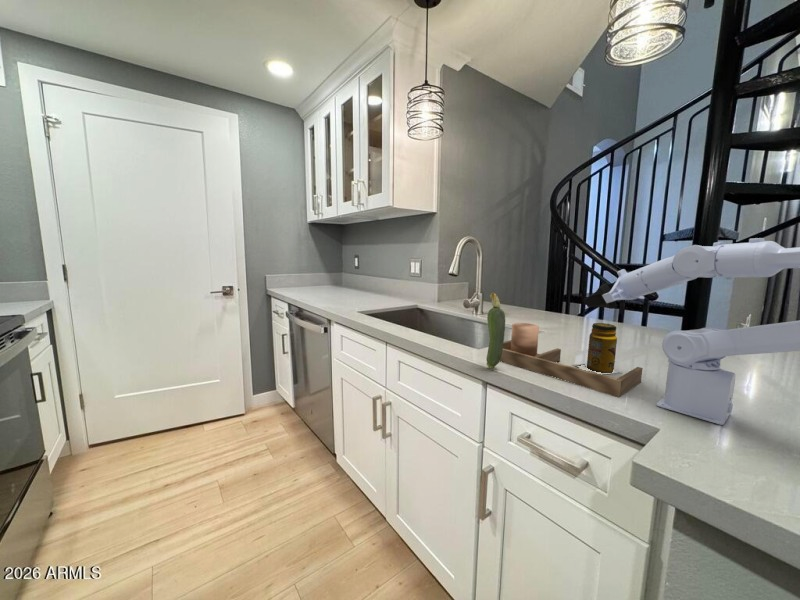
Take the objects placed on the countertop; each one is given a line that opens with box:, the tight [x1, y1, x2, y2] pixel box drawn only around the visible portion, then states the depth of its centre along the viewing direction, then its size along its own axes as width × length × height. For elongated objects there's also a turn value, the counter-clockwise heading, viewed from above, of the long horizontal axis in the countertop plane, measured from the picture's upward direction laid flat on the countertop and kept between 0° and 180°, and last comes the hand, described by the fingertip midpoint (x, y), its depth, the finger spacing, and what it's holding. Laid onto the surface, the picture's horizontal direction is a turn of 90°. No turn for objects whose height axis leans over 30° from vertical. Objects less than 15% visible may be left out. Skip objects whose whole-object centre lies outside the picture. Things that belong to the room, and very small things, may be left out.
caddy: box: [499, 322, 643, 398], centre depth 84 cm, size 33×14×10 cm, turn 38°
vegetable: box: [486, 292, 506, 370], centre depth 83 cm, size 4×4×20 cm
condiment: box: [573, 322, 623, 375], centre depth 84 cm, size 7×8×12 cm
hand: (596, 297), depth 81 cm, fingers open, 7 cm apart
